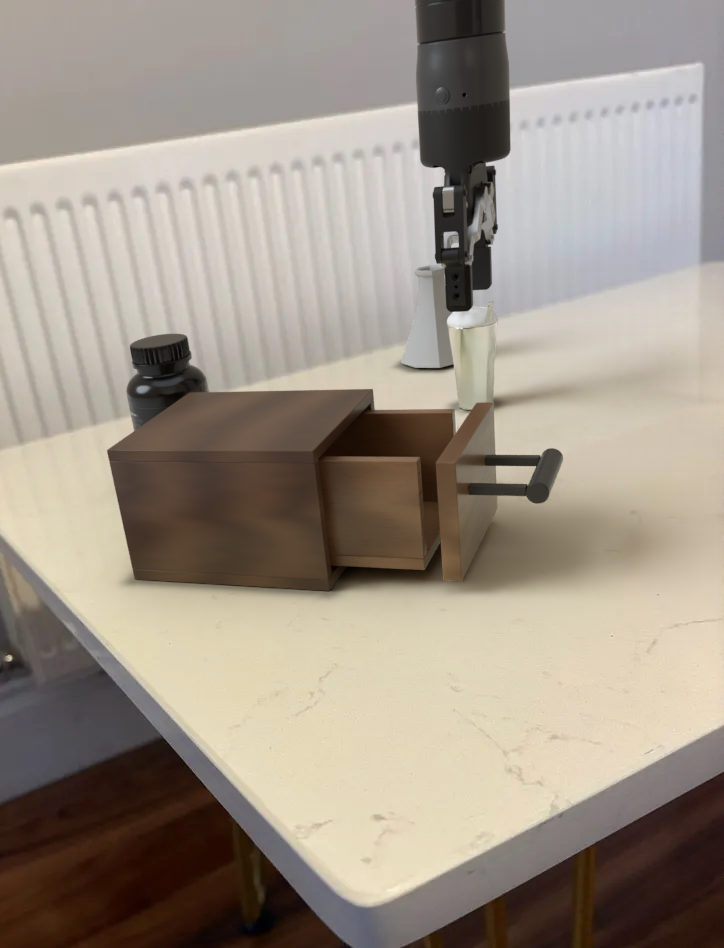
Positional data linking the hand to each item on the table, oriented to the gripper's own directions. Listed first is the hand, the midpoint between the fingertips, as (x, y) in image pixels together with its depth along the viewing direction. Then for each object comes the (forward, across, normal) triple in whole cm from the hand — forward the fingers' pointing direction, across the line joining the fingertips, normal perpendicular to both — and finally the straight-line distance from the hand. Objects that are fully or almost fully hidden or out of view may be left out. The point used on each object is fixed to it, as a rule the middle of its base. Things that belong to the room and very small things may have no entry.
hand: (470, 299), depth 92 cm
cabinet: (+10, -32, +9) cm, 34 cm away
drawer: (+9, -32, -3) cm, 33 cm away
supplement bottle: (+10, -19, +22) cm, 30 cm away
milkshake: (+10, 0, 0) cm, 10 cm away
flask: (+10, +16, +8) cm, 21 cm away
